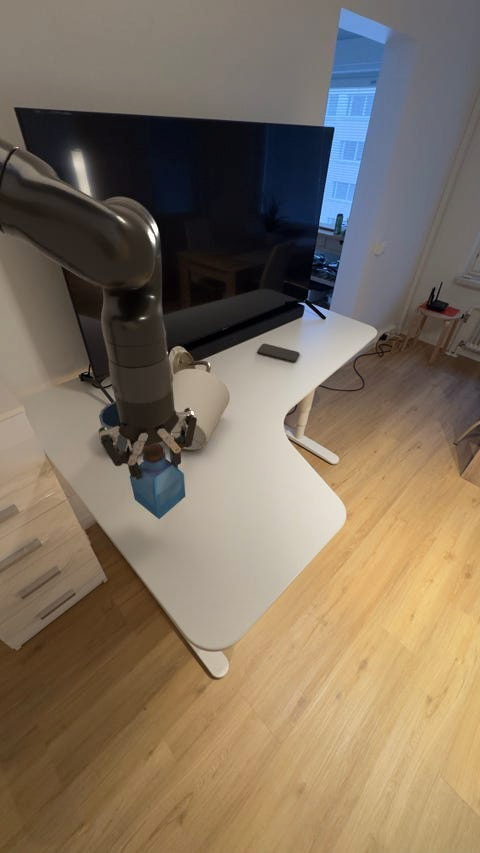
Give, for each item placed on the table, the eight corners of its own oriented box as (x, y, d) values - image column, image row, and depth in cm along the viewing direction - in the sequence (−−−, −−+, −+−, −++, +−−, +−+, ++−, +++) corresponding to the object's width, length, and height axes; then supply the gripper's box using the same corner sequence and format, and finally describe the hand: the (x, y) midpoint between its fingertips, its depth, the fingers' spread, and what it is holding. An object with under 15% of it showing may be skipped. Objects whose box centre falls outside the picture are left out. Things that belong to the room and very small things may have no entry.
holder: (111, 463, 85) (103, 434, 78) (104, 434, 92) (95, 405, 86) (158, 451, 89) (153, 422, 82) (147, 423, 97) (142, 395, 90)
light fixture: (249, 370, 109) (224, 454, 88) (197, 375, 116) (161, 455, 94) (234, 325, 98) (201, 408, 76) (176, 333, 104) (131, 412, 83)
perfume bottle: (159, 519, 57) (151, 471, 49) (134, 499, 60) (123, 451, 52) (185, 496, 61) (182, 449, 53) (161, 478, 64) (155, 431, 56)
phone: (295, 361, 125) (256, 351, 128) (294, 363, 125) (256, 353, 129) (300, 352, 130) (263, 342, 134) (299, 354, 131) (262, 344, 134)
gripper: (187, 360, 49) (190, 443, 61) (80, 378, 44) (106, 466, 55) (205, 388, 44) (205, 474, 56) (87, 413, 39) (114, 501, 51)
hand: (156, 469), depth 55 cm, fingers closed on perfume bottle, 5 cm apart
